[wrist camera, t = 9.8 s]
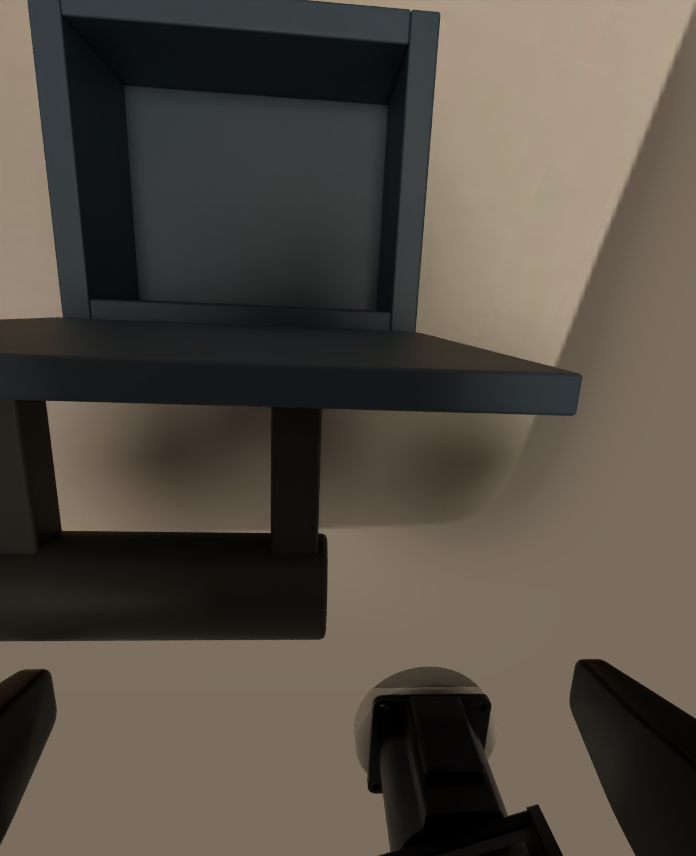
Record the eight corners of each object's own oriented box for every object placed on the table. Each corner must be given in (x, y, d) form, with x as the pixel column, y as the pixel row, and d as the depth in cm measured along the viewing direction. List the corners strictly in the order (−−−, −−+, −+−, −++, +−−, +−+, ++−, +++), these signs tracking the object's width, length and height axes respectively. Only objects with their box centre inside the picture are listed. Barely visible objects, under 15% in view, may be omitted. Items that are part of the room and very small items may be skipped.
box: (108, 68, 16) (23, -27, 12) (407, 91, 17) (440, 11, 12) (127, 320, 18) (63, 325, 14) (391, 330, 19) (415, 339, 14)
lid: (-459, 337, 5) (-315, 711, 6) (584, 374, 5) (529, 699, 6) (56, 317, 13) (73, 464, 15) (417, 332, 14) (406, 471, 15)
